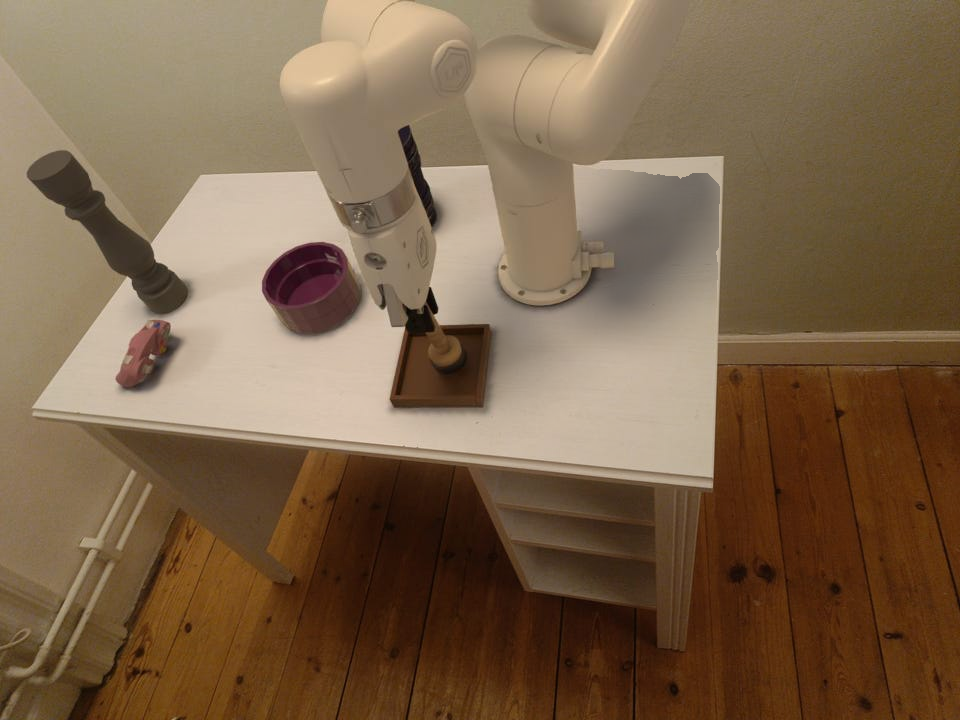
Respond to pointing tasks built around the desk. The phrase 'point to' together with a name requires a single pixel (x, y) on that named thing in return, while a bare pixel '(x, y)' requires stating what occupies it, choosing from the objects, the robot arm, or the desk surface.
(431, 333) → the brush
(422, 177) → the storage jar
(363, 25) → the robot arm
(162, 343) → the pink toy
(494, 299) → the desk surface
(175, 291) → the candle holder
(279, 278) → the bowl
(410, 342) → the tray
